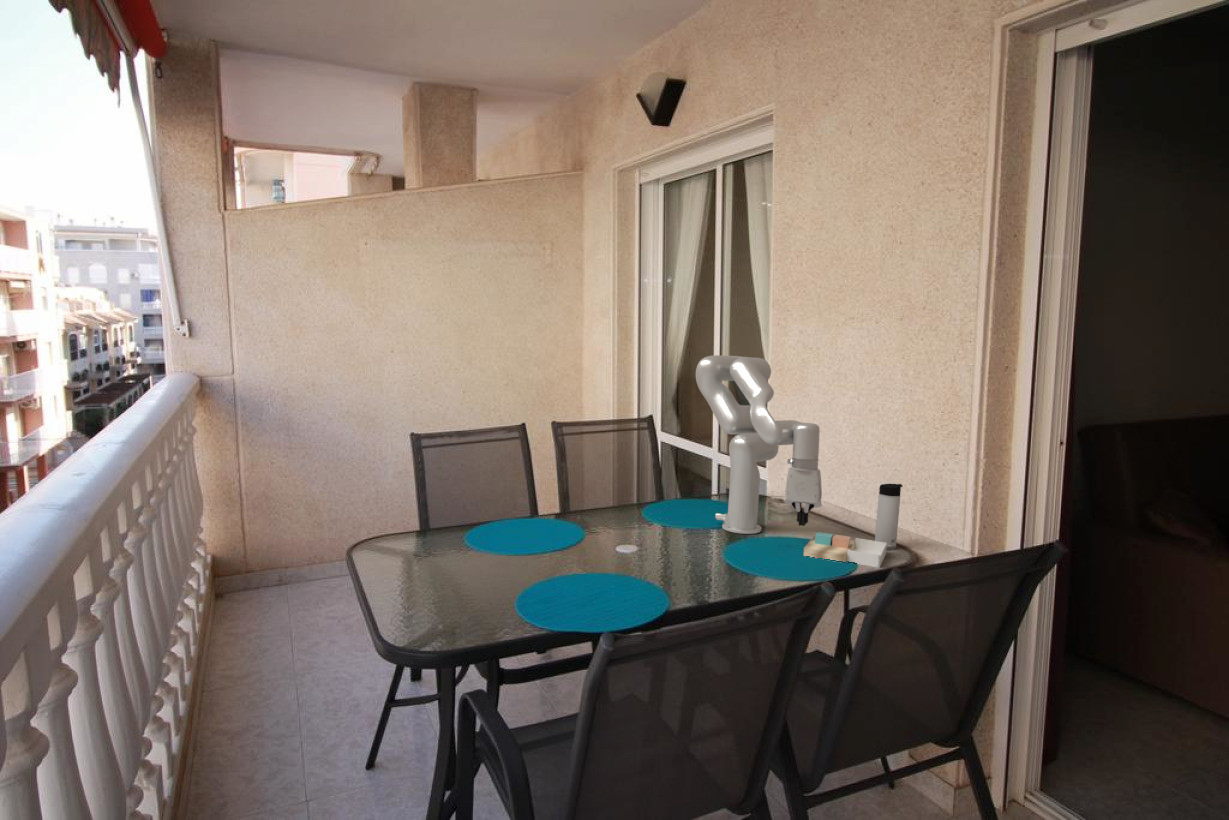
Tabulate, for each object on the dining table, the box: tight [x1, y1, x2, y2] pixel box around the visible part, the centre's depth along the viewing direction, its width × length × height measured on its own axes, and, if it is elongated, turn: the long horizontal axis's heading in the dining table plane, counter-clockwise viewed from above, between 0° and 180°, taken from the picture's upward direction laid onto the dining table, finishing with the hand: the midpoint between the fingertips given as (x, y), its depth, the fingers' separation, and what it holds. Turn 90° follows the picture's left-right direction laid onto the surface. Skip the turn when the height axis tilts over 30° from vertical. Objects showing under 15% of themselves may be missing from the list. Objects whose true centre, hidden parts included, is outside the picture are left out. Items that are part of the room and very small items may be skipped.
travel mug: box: [874, 483, 903, 551], centre depth 236 cm, size 6×7×20 cm
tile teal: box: [814, 531, 835, 546], centre depth 229 cm, size 4×4×2 cm
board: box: [803, 535, 855, 563], centre depth 228 cm, size 12×18×2 cm, turn 154°
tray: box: [847, 537, 887, 569], centre depth 224 cm, size 9×16×4 cm, turn 154°
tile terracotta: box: [832, 534, 852, 549], centre depth 227 cm, size 4×4×2 cm
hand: (802, 524), depth 231 cm, fingers closed
